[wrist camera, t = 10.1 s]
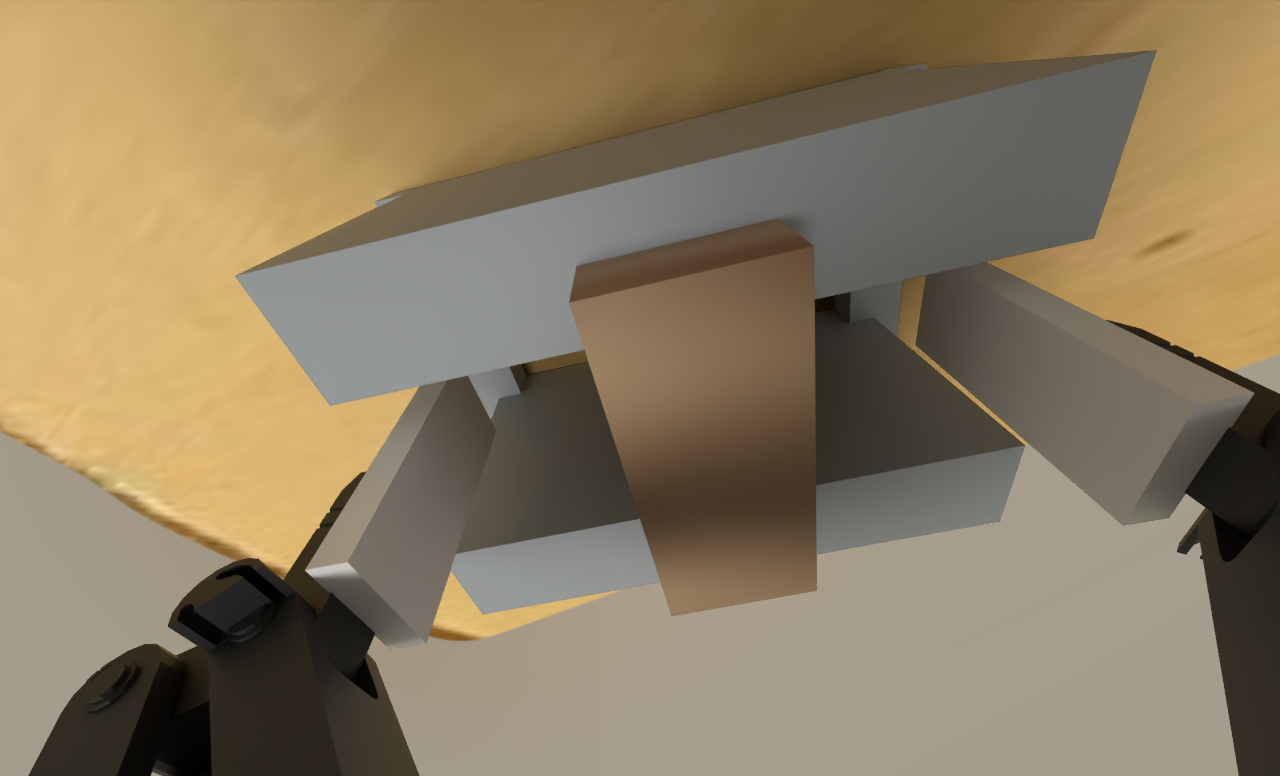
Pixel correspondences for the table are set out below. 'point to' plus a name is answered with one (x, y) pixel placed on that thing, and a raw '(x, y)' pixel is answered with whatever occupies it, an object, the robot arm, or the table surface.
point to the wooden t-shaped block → (712, 406)
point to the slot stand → (693, 207)
